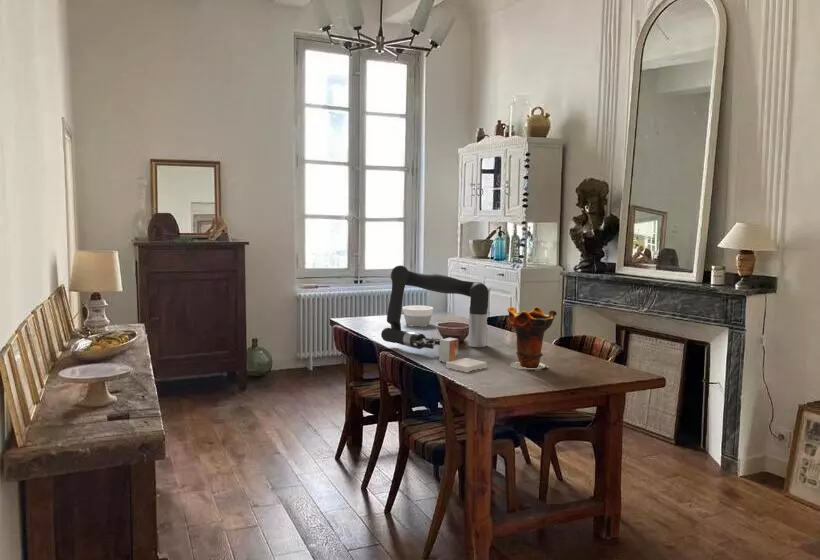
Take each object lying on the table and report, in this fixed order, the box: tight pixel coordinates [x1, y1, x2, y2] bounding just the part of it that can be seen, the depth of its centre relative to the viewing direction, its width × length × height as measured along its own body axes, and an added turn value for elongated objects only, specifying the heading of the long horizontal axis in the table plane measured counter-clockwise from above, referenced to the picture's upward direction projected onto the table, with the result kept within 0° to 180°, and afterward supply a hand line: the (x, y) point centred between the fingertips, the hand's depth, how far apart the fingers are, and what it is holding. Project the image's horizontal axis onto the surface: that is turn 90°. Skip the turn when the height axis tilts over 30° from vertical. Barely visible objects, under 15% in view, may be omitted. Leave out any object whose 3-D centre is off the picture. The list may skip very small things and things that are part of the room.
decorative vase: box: [507, 306, 558, 372], centre depth 300 cm, size 21×23×28 cm
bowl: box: [402, 304, 434, 327], centre depth 403 cm, size 19×19×11 cm
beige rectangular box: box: [445, 357, 488, 373], centre depth 295 cm, size 14×12×2 cm
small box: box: [438, 337, 460, 363], centre depth 307 cm, size 8×6×10 cm
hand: (438, 345), depth 312 cm, fingers open, 8 cm apart
